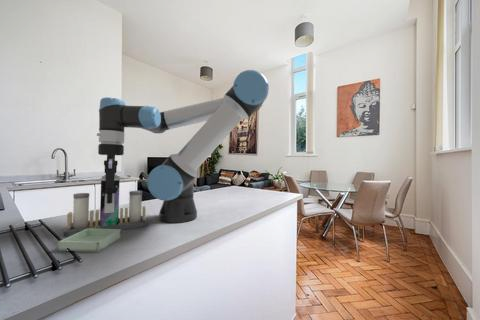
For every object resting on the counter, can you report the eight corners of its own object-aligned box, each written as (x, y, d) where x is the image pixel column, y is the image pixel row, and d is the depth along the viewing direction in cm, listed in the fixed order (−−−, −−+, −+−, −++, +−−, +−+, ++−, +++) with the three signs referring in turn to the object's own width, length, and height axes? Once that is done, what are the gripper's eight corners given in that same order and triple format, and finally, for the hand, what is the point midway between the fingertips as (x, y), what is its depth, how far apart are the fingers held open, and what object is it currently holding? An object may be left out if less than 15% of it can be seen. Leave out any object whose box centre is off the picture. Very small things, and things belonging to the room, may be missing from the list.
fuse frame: (144, 219, 82) (144, 204, 82) (146, 226, 74) (147, 209, 74) (70, 227, 71) (70, 210, 71) (63, 236, 63) (64, 216, 63)
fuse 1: (91, 228, 71) (92, 193, 71) (82, 232, 66) (83, 195, 66) (79, 228, 71) (80, 192, 71) (68, 232, 66) (70, 194, 66)
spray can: (98, 230, 69) (99, 170, 69) (101, 225, 74) (103, 169, 74) (117, 228, 71) (118, 170, 71) (119, 223, 76) (120, 169, 76)
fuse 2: (143, 222, 79) (144, 190, 79) (137, 226, 74) (138, 192, 74) (132, 222, 79) (133, 190, 79) (126, 225, 74) (127, 192, 74)
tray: (120, 237, 64) (120, 229, 64) (97, 252, 53) (98, 242, 53) (87, 236, 64) (87, 228, 64) (58, 251, 53) (58, 241, 53)
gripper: (100, 144, 78) (99, 205, 79) (95, 141, 62) (93, 218, 63) (123, 145, 82) (121, 204, 82) (124, 143, 66) (122, 216, 66)
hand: (109, 210), depth 72 cm, fingers closed on spray can, 5 cm apart
